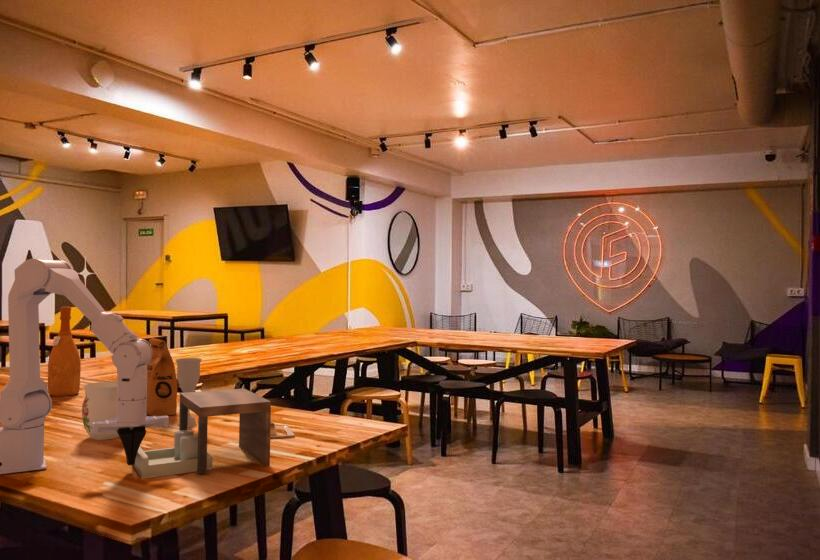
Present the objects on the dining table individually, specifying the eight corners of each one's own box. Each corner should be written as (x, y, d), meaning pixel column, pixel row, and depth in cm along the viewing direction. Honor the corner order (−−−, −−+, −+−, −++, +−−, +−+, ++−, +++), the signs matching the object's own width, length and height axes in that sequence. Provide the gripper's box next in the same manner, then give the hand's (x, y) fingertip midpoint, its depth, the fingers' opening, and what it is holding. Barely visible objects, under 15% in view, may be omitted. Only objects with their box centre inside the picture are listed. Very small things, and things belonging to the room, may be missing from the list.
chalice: (191, 428, 173) (193, 361, 174) (168, 427, 175) (170, 360, 175) (205, 423, 181) (206, 358, 181) (183, 421, 182) (184, 357, 182)
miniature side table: (199, 475, 132) (200, 407, 132) (178, 453, 149) (179, 393, 149) (269, 466, 140) (270, 401, 140) (243, 446, 156) (244, 388, 157)
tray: (141, 478, 130) (142, 446, 130) (132, 463, 140) (133, 433, 140) (212, 469, 137) (212, 438, 137) (198, 455, 148) (199, 427, 148)
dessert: (242, 432, 173) (242, 414, 173) (287, 429, 178) (287, 411, 178) (247, 442, 162) (247, 423, 162) (295, 439, 166) (295, 420, 166)
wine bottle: (51, 392, 224) (52, 305, 224) (82, 391, 226) (84, 305, 227) (44, 397, 214) (46, 306, 214) (77, 396, 217) (78, 306, 217)
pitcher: (121, 426, 175) (122, 375, 175) (135, 440, 160) (136, 385, 160) (76, 431, 169) (77, 378, 169) (86, 446, 154) (87, 388, 154)
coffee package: (145, 418, 185) (147, 341, 185) (135, 411, 195) (137, 338, 195) (181, 415, 190) (182, 340, 191) (169, 408, 201) (170, 337, 201)
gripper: (95, 404, 127) (94, 473, 127) (172, 398, 135) (171, 464, 135) (91, 398, 133) (90, 464, 133) (165, 393, 141) (164, 455, 141)
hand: (130, 463), depth 134 cm, fingers closed
